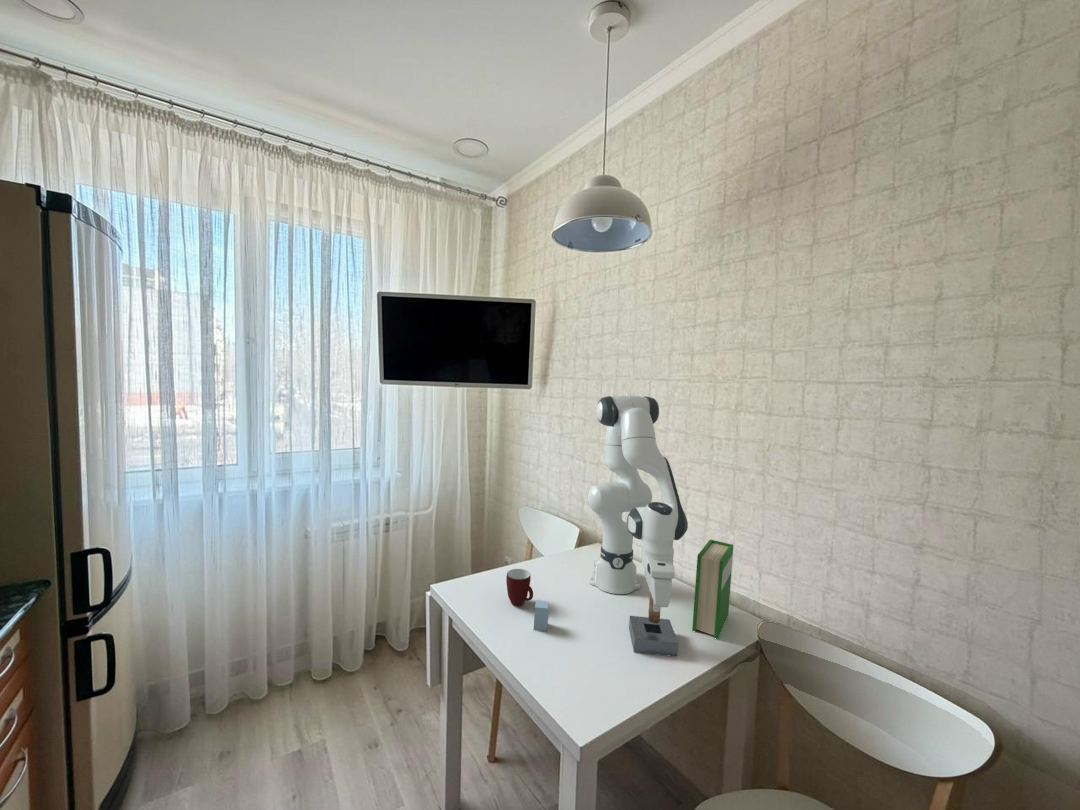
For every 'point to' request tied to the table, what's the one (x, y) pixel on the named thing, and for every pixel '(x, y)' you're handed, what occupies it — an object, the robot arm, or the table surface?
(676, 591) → the table surface
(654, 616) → the round peg
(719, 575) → the hardback book
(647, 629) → the socket
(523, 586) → the mug
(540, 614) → the square peg
